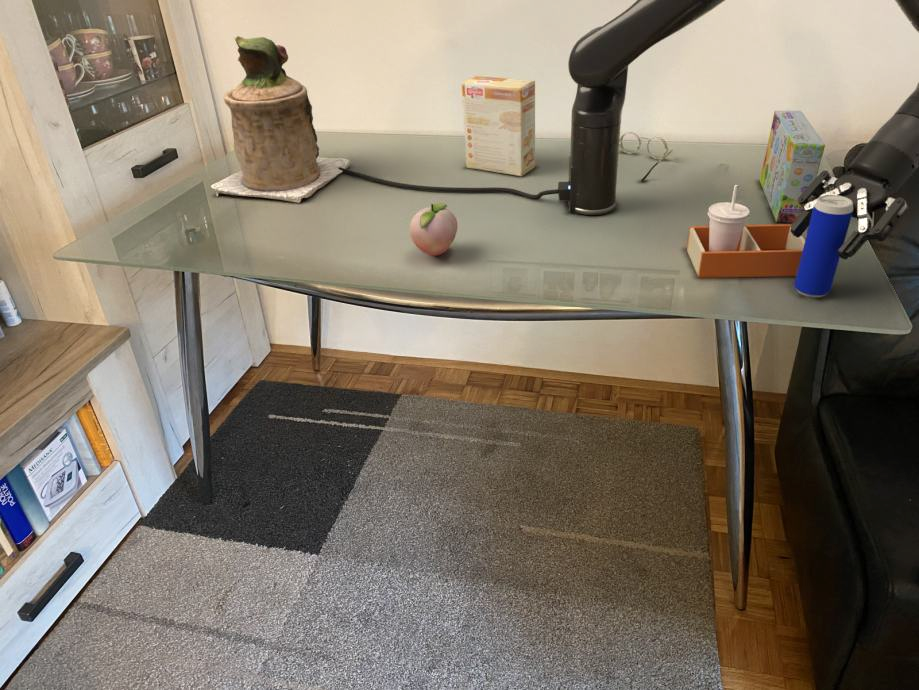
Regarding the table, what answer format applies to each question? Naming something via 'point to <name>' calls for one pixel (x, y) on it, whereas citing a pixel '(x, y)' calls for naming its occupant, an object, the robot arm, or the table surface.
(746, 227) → the carrier
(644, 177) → the round eyeglasses
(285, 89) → the cookie jar
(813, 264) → the beverage can
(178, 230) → the table surface
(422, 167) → the table surface
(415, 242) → the decorative fruit
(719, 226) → the smoothie
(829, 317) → the table surface
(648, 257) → the table surface
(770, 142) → the snack box
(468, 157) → the coffeecake box
